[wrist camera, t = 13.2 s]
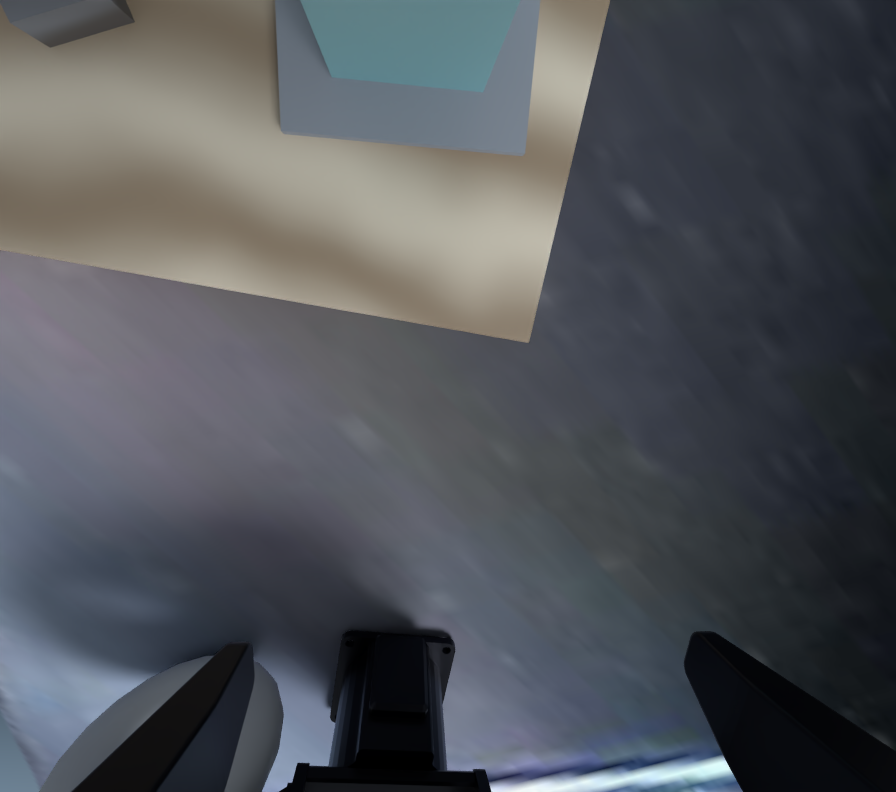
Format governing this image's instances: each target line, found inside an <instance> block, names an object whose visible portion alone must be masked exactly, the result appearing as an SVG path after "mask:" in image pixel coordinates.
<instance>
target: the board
mask: <svg viewBox="0 0 896 792" xmlns="http://www.w3.org/2000/svg"><path fill="white" fill-rule="evenodd" d="M609 2H610V0H540V9H539V19H538V29H537V39H536V49H535V59H534V69H533V79H532V89H531V99H530V109H529V119H528V129H527V139H526V149H525V154H524V155H523V156H514V155H504V154H493V153H482V152H471V151H460V150H450V149H439V148H428V147H417V146H406V145H396V144H385V143H374V142H363V141H353V140H342V139H331V138H320V137H309V136H299V135H288V134H283V132H282V131H281V123H280V100H279V78H278V55H277V32H276V9H275V0H0V250H4V251H9V252H15V253H21V254H26V255H32V256H38V257H43V258H49V259H55V260H60V261H66V262H72V263H78V264H83V265H89V266H95V267H100V268H106V269H112V270H117V271H123V272H129V273H134V274H140V275H146V276H151V277H157V278H163V279H169V280H174V281H180V282H186V283H191V284H197V285H203V286H208V287H214V288H220V289H225V290H231V291H237V292H242V293H248V294H254V295H260V296H265V297H271V298H277V299H282V300H288V301H294V302H299V303H305V304H311V305H316V306H322V307H328V308H333V309H339V310H345V311H351V312H356V313H362V314H368V315H373V316H379V317H385V318H390V319H396V320H402V321H407V322H413V323H419V324H424V325H430V326H436V327H442V328H447V329H453V330H459V331H464V332H470V333H476V334H481V335H487V336H493V337H498V338H504V339H510V340H515V341H521V342H527V343H529V340H530V335H531V331H532V327H533V323H534V319H535V314H536V310H537V306H538V302H539V297H540V293H541V289H542V285H543V281H544V276H545V272H546V268H547V264H548V259H549V255H550V251H551V247H552V243H553V238H554V234H555V230H556V226H557V222H558V217H559V213H560V209H561V205H562V200H563V196H564V192H565V188H566V184H567V179H568V175H569V171H570V167H571V163H572V158H573V154H574V150H575V146H576V141H577V137H578V133H579V129H580V125H581V120H582V116H583V112H584V108H585V104H586V99H587V95H588V91H589V87H590V82H591V78H592V74H593V70H594V66H595V61H596V57H597V53H598V49H599V44H600V40H601V36H602V32H603V28H604V23H605V19H606V15H607V11H608V7H609Z"/></svg>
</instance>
